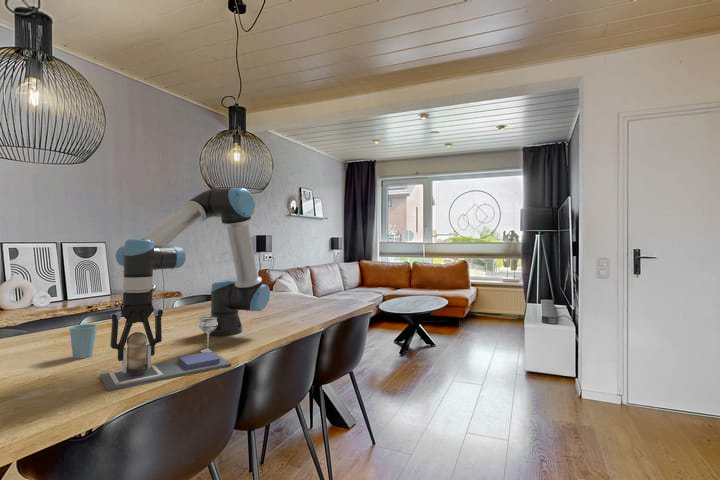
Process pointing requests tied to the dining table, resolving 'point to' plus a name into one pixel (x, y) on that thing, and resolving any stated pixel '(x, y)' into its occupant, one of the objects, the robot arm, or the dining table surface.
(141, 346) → the stamp
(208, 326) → the wineglass
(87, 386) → the dining table surface
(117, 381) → the desk mat
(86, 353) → the cup
